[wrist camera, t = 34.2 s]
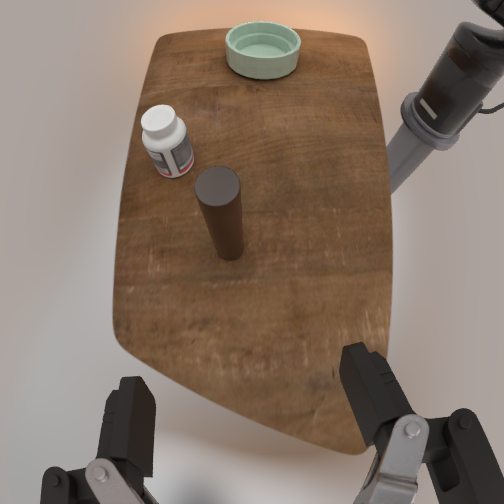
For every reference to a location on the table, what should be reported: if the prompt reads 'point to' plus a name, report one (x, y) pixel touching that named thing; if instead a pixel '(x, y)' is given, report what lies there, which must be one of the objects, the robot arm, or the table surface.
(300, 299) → the table surface
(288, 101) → the table surface
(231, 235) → the dark cylinder
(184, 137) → the pill bottle
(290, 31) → the bowl
